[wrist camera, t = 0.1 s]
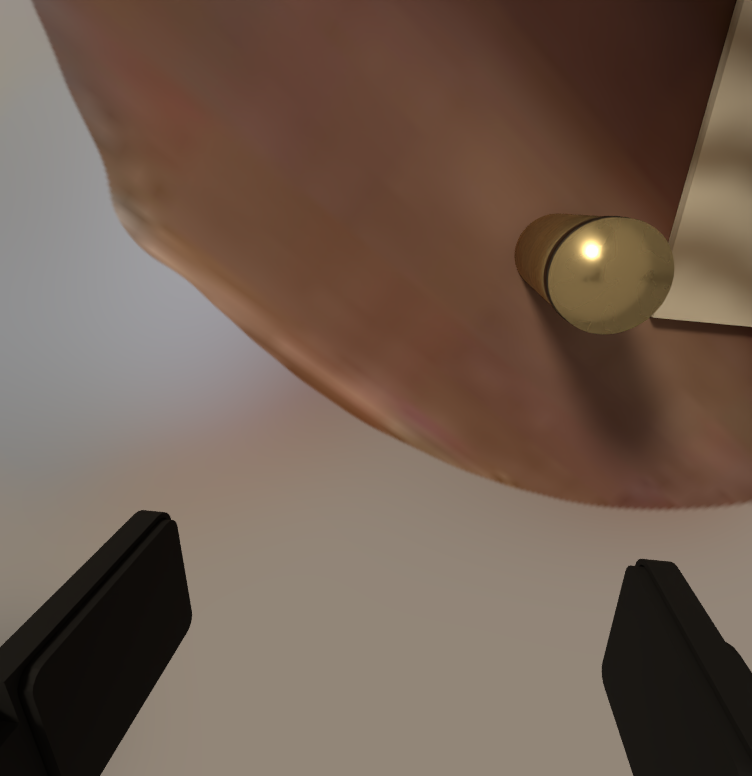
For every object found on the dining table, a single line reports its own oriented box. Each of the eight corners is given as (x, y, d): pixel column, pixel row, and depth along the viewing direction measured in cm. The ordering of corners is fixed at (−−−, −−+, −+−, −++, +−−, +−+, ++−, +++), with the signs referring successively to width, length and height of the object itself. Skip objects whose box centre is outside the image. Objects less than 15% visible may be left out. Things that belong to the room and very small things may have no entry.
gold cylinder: (521, 210, 35) (564, 212, 22) (600, 215, 35) (691, 221, 22) (508, 286, 38) (540, 329, 25) (582, 293, 37) (656, 340, 24)
